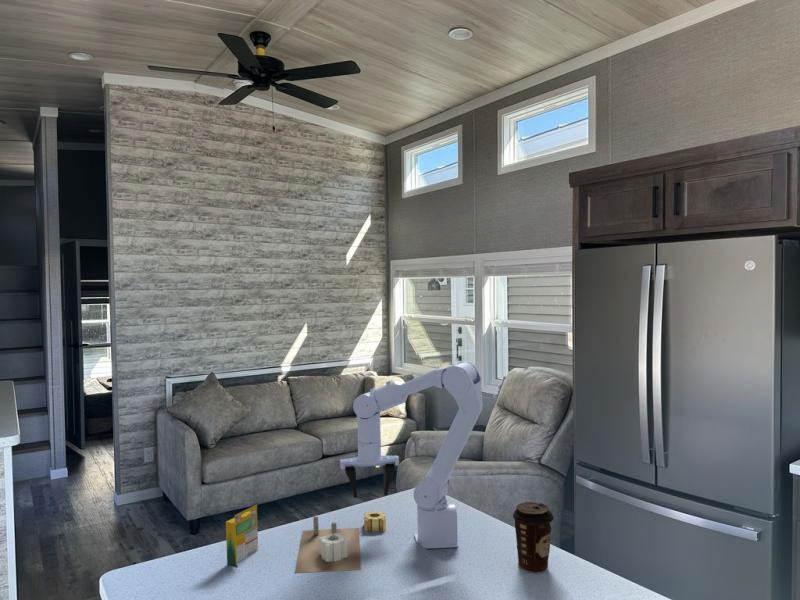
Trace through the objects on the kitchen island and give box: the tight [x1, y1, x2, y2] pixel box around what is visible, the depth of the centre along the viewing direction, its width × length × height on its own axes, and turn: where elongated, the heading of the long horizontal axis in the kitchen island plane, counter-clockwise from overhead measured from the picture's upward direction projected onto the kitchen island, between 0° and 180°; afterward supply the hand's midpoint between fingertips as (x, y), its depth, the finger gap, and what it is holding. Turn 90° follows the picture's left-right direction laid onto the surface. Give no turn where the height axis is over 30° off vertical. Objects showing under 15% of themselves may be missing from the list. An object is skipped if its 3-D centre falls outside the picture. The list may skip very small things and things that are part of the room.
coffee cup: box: [512, 501, 554, 574], centre depth 128 cm, size 9×8×13 cm
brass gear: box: [363, 510, 387, 533], centre depth 148 cm, size 5×5×4 cm
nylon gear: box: [319, 533, 348, 562], centre depth 132 cm, size 5×5×4 cm
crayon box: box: [225, 504, 259, 568], centre depth 133 cm, size 7×3×12 cm, turn 152°
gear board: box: [294, 515, 362, 574], centre depth 136 cm, size 14×22×6 cm, turn 5°
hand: (370, 495), depth 147 cm, fingers open, 7 cm apart
